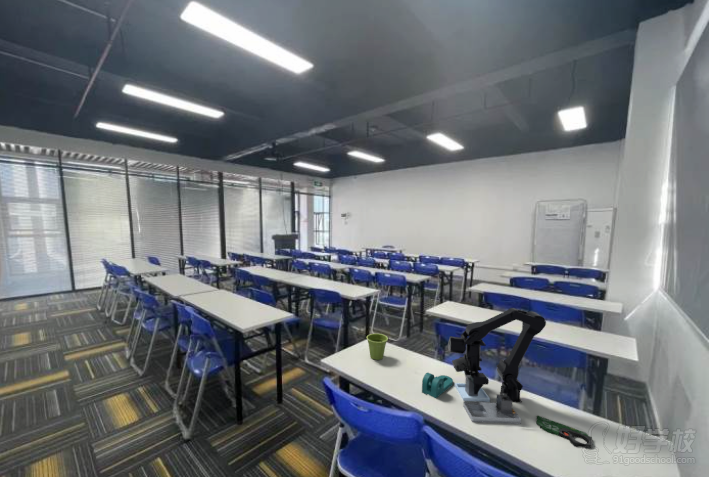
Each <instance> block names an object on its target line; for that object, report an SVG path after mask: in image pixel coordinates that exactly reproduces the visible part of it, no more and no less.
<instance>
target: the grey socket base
mask: <svg viewBox="0 0 709 477" xmlns="http://www.w3.org/2000/svg"><path fill="white" fill-rule="evenodd" d="M462 407H463V409H464V410H465V412H466V414H467V416H468V417H469V419H470V421H471V422H472V423H489V424H491V423H492V424H515V425H516V424H517V425H519V424H521V421H522V418H521V417H520V415H519V414H518V413H517V412H516V411H515V410H514V409H513V402H512V400H511V399H510V398H509V397H508V395H507V394H506V393H504V392H503V393H502V395H501V394H500V393H499V394H496V402H485V401H463V404H462Z"/></svg>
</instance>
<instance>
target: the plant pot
mask: <svg viewBox="0 0 709 477" xmlns="http://www.w3.org/2000/svg"><path fill="white" fill-rule="evenodd" d="M366 339H367V343H368V349H369V357H370V358H371V359H372V360H376V361H381V360H383V359H384V355H385V351H386V350H385V348H386V345H387V342H388V339H389V338H388V336H387V335H385V334H383V333H370V334H368V335H367V336H366Z"/></svg>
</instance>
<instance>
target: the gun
mask: <svg viewBox="0 0 709 477" xmlns="http://www.w3.org/2000/svg"><path fill="white" fill-rule="evenodd" d="M535 420H536V425H538V426H539V429H541V430H542V431H545V432H547V434H548V433H549V434H551V435H553V436H556V437H561V438H562V439H564V440H568V442H570V444H571V445H572V446H573V447H575V448H579V447H580V448H585V449H588V450H589V449H590V450H591V449H592V448H593V437H592V436H590V435H589V434H588V433H587V432H585V431H582V430H579V429H576V428H574V427H572V426H569V425H565V424H563V423H559V422H557V421H554V420H552V419H549V418H546V417H543V416H540V415H536V417H535ZM575 438H578V439H582V440H583V441H585V442H586V443H583V442H580V441H578V440H577V439H575Z"/></svg>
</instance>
